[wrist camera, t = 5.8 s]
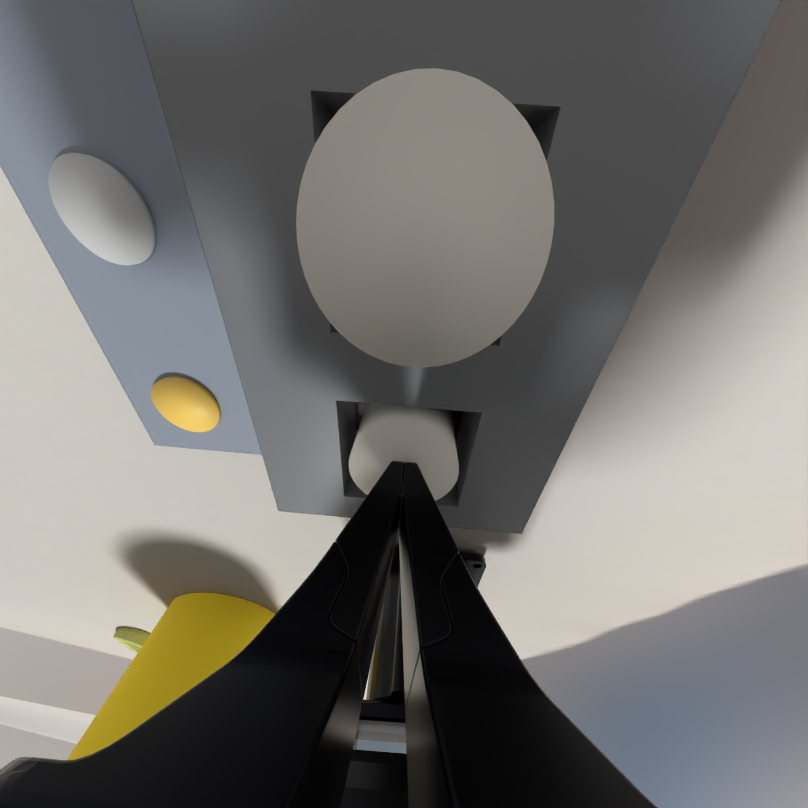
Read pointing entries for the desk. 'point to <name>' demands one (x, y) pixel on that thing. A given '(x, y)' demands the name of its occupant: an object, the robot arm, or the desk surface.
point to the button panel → (572, 190)
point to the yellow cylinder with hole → (174, 661)
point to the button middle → (425, 217)
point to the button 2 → (405, 445)
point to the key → (131, 638)
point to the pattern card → (118, 213)
